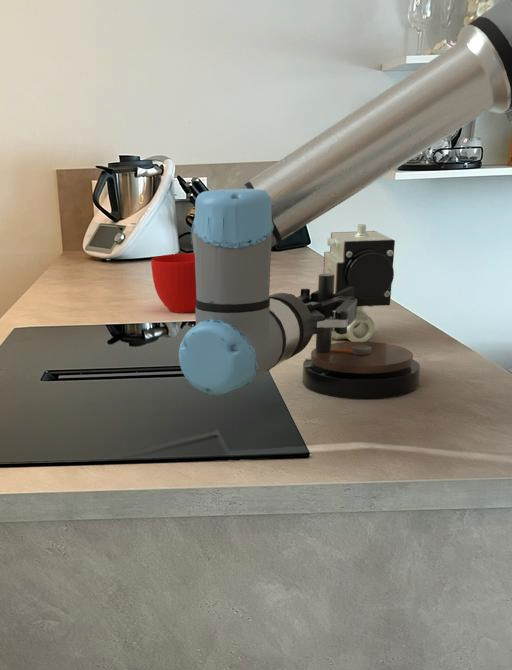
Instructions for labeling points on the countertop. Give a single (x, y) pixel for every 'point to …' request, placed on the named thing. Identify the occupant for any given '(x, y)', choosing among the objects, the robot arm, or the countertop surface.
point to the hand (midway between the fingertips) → (340, 296)
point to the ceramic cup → (175, 281)
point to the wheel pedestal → (360, 382)
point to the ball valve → (361, 274)
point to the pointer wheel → (354, 347)
